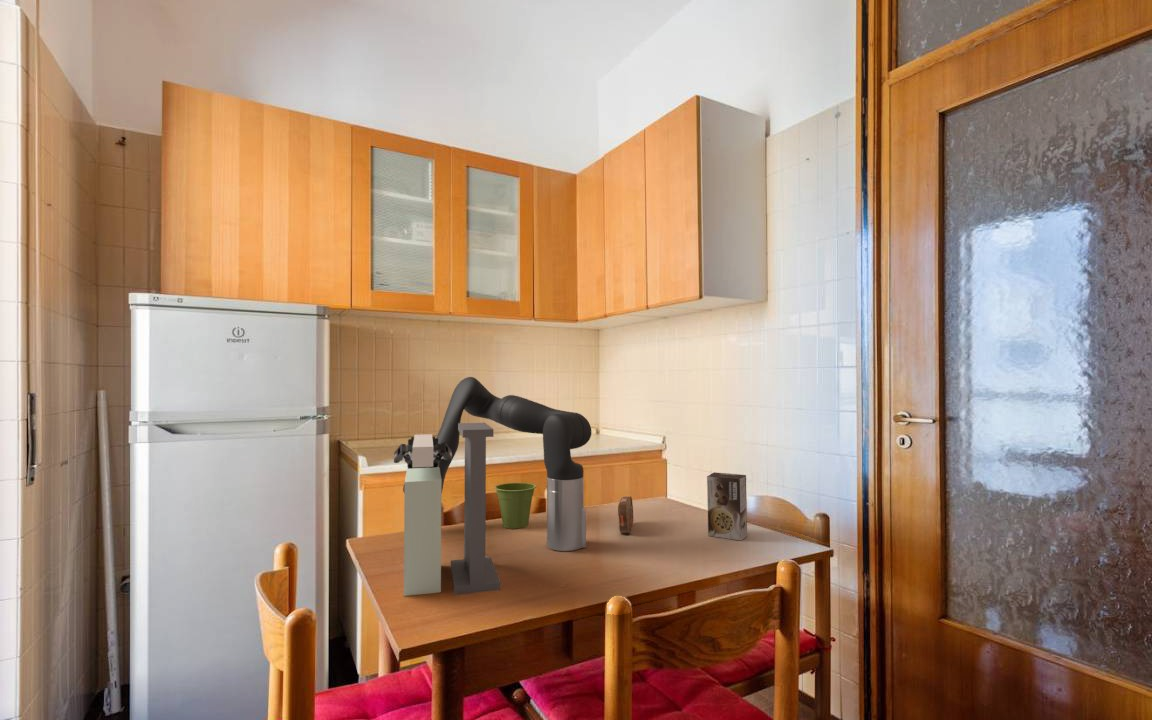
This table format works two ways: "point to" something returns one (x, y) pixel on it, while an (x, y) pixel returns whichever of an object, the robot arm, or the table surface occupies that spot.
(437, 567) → the pedestal
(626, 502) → the tin
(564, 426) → the robot arm
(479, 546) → the tall stand
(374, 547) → the table surface
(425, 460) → the stone bar
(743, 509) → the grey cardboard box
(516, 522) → the plant pot
